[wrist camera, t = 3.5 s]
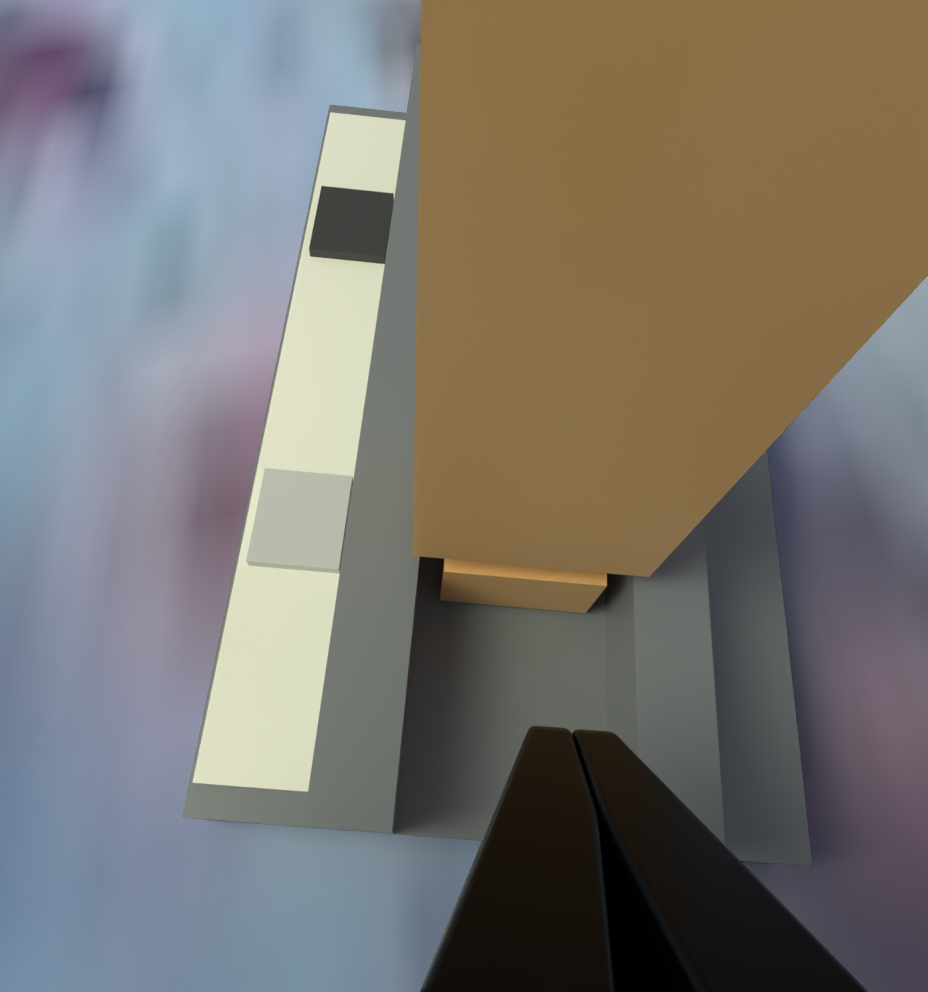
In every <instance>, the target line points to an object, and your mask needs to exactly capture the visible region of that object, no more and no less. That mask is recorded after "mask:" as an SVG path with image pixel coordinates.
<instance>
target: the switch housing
mask: <svg viewBox="0 0 928 992" xmlns="http://www.w3.org/2000/svg"><path fill="white" fill-rule="evenodd" d="M420 49H421V44H417V46H416V53H415V60H414V67H413V73H412V80H411V87H410V94H409V101H408V108H407V113H402V112H393V111H384V110H374V109H365V108H356V107H347V106H337V105H330V107H329V111H328V116H327V121H326V126H325V131H324V136H323V140H322V145H321V150H320V155H319V160H318V165H317V169H316V174H315V179H314V184H313V189H312V194H311V198H310V203H309V208H308V213H307V218H306V222H305V227H304V232H303V237H302V242H301V247H300V251H299V256H298V261H297V266H296V271H295V276H294V280H293V285H292V290H291V295H290V300H289V305H288V309H287V314H286V319H285V324H284V329H283V333H282V338H281V343H280V348H279V353H278V358H277V362H276V367H275V372H274V377H273V382H272V387H271V391H270V396H269V401H268V406H267V411H266V416H265V420H264V425H263V430H262V435H261V440H260V444H259V449H258V454H257V459H256V464H255V469H254V473H253V478H252V483H251V488H250V493H249V498H248V502H247V507H246V512H245V517H244V522H243V527H242V531H241V536H240V541H239V546H238V551H237V555H236V560H235V565H234V570H233V575H232V580H231V584H230V589H229V594H228V599H227V604H226V609H225V613H224V618H223V623H222V628H221V633H220V638H219V642H218V647H217V652H216V657H215V662H214V666H213V671H212V676H211V681H210V686H209V691H208V695H207V700H206V705H205V710H204V715H203V720H202V724H201V729H200V734H199V739H198V744H197V749H196V753H195V758H194V763H193V768H192V773H191V777H190V782H189V787H188V792H187V797H186V802H185V806H184V811H183V816H182V817H186V818H196V819H208V820H220V821H233V822H246V823H259V824H272V825H285V826H298V827H311V828H324V829H337V830H350V831H363V832H375V833H388V834H401V835H414V836H427V837H440V838H453V839H466V840H479V841H482V840H483V838H484V835H485V833H486V831H487V828H488V826H489V823H490V821H491V818H492V816H493V814H494V811H495V809H496V806H497V804H498V801H499V799H500V797H501V794H502V792H503V789H504V787H505V784H506V782H507V780H508V777H509V775H510V772H511V770H512V767H513V765H514V763H515V760H516V758H517V755H518V753H519V751H520V748H521V746H522V743H523V741H524V738H525V736H526V734H527V731H528V729H529V728H530V727H532V726H536V725H537V726H549V727H561V728H566V729H568V730H569V731H571V733H573V732H574V731H575V730H577V729H585V730H598V731H609V732H612V733H614V734H616V735H617V736H618V737H619V738H620V739H621V740H622V741H623V742H624V743H625V744H626V745H627V746H628V747H629V748H630V749H631V750H632V751H633V752H634V753H635V754H636V755H637V756H638V757H639V758H640V759H641V760H642V761H643V762H644V763H645V764H646V765H647V766H648V767H649V768H650V769H651V770H652V771H653V772H654V773H655V774H656V775H657V776H658V777H659V778H660V779H661V781H662V782H663V783H664V784H665V785H666V786H667V787H668V788H669V789H670V790H671V791H672V792H673V793H674V794H675V795H676V796H677V797H678V798H679V799H680V800H681V801H682V802H683V803H684V804H685V805H686V806H687V807H688V808H689V809H690V810H691V811H692V812H693V813H694V814H695V815H696V816H697V817H698V818H699V819H700V820H701V821H702V822H703V823H704V824H705V825H706V826H707V828H708V829H709V830H710V831H711V832H712V833H713V834H714V835H715V836H716V837H717V838H718V839H719V840H720V841H721V842H722V843H723V844H724V845H725V846H726V847H727V848H728V849H729V850H730V851H731V852H732V853H733V854H734V855H735V856H736V857H737V858H738V859H739V860H740V861H750V862H763V863H777V864H791V865H806V866H812V858H811V848H810V839H809V830H808V821H807V812H806V802H805V793H804V784H803V775H802V766H801V756H800V747H799V738H798V729H797V720H796V711H795V701H794V692H793V683H792V674H791V665H790V655H789V646H788V637H787V628H786V619H785V609H784V600H783V591H782V582H781V573H780V564H779V554H778V545H777V536H776V527H775V518H774V508H773V499H772V490H771V481H770V472H769V462H768V453H767V450H766V451H765V452H764V453H763V454H762V455H761V456H760V457H759V459H758V460H757V461H756V462H755V463H754V464H753V465H752V466H751V467H750V468H749V469H748V470H747V472H746V473H745V474H744V475H743V476H742V477H741V478H740V479H739V480H738V481H737V482H736V483H735V485H734V486H733V487H732V488H731V489H730V490H729V491H728V492H727V493H726V494H725V495H724V496H723V498H722V499H721V500H720V501H719V502H718V503H717V504H716V505H715V506H714V507H713V508H712V509H711V511H710V512H709V513H708V514H707V515H706V516H705V517H704V518H703V519H702V520H701V521H700V522H699V523H698V525H697V526H696V527H695V528H694V529H693V530H692V531H691V532H690V533H689V534H688V535H687V536H686V538H685V539H684V540H683V541H682V542H681V543H680V544H679V545H678V546H677V547H676V548H675V549H674V551H673V552H672V553H671V554H670V555H669V556H668V557H667V558H666V559H665V560H664V561H663V562H662V564H661V565H660V566H659V567H658V568H657V569H656V570H655V571H654V572H653V573H652V574H651V575H650V576H649V577H643V576H632V575H621V574H610V573H607V587H606V588H605V589H604V590H603V592H602V593H601V594H600V596H599V597H598V598H597V599H596V601H595V602H594V603H593V604H592V606H591V607H590V608H589V609H588V611H587V612H586V613H576V612H565V611H554V610H542V609H531V608H519V607H508V606H497V605H485V604H474V603H462V602H451V601H440V593H441V581H442V570H443V559H442V558H431V557H420V556H412V543H413V482H414V420H415V358H416V296H417V234H418V172H419V111H420Z"/></svg>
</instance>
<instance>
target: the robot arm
mask: <svg viewBox="0 0 928 992" xmlns="http://www.w3.org/2000/svg"><path fill="white" fill-rule="evenodd" d="M420 992H868V991H867V990H866V989H865V988H864V987H863V986H862V985H861V984H860V983H859V982H858V981H857V980H856V979H855V978H854V977H853V976H852V975H851V974H850V973H849V972H848V971H847V969H846V968H845V967H844V966H843V965H842V964H841V963H840V962H839V961H838V960H837V959H836V958H835V957H834V956H833V955H832V954H831V953H830V952H829V951H828V950H827V949H826V948H825V947H824V946H823V945H822V944H821V943H820V942H819V941H818V940H817V939H816V938H815V937H814V936H813V935H812V934H811V933H810V932H809V931H808V930H807V929H806V928H805V927H804V926H803V925H802V924H801V922H800V921H799V920H798V919H797V918H796V917H795V916H794V915H793V914H792V913H791V912H790V911H789V910H788V909H787V908H786V907H785V906H784V905H783V904H782V903H781V902H780V901H779V900H778V899H777V898H776V897H775V896H774V895H773V894H772V893H771V892H770V891H769V890H768V889H767V888H766V887H765V886H764V885H763V884H762V883H761V882H760V881H759V880H758V879H757V878H756V877H755V876H754V874H753V873H752V872H751V871H750V870H749V869H748V868H747V867H746V866H745V865H744V864H743V863H742V862H741V861H740V860H739V859H738V858H737V857H736V856H735V855H734V854H733V853H732V852H731V851H730V850H729V849H728V848H727V847H726V846H725V845H724V844H723V843H722V842H721V841H720V840H719V839H718V838H717V837H716V836H715V835H714V834H713V833H712V832H711V831H710V830H709V829H708V828H707V826H706V825H705V824H704V823H703V822H702V821H701V820H700V819H699V818H698V817H697V816H696V815H695V814H694V813H693V812H692V811H691V810H690V809H689V808H688V807H687V806H686V805H685V804H684V803H683V802H682V801H681V800H680V799H679V798H678V797H677V796H676V795H675V794H674V793H673V792H672V791H671V790H670V789H669V788H668V787H667V786H666V785H665V784H664V783H663V782H662V781H661V779H660V778H659V777H658V776H657V775H656V774H655V773H654V772H653V771H652V770H651V769H650V768H649V767H648V766H647V765H646V764H645V763H644V762H643V761H642V760H641V759H640V758H639V757H638V756H637V755H636V754H635V753H634V752H633V751H632V750H631V749H630V748H629V747H628V746H627V745H626V744H625V743H624V742H623V741H622V740H621V739H620V738H619V737H618V736H617V735H616V734H614V733H612V732H609V731H598V730H585V729H577V730H575V731H574V732H573V733H571V731H569V730H568V729H566V728H561V727H549V726H537V725H536V726H532V727H530V728H529V729H528V731H527V734H526V736H525V738H524V741H523V743H522V746H521V748H520V751H519V753H518V755H517V758H516V760H515V763H514V765H513V767H512V770H511V772H510V775H509V777H508V780H507V782H506V784H505V787H504V789H503V792H502V794H501V797H500V799H499V801H498V804H497V806H496V809H495V811H494V814H493V816H492V818H491V821H490V823H489V826H488V828H487V831H486V833H485V835H484V838H483V840H482V843H481V845H480V848H479V850H478V852H477V855H476V857H475V860H474V862H473V865H472V867H471V869H470V872H469V874H468V877H467V879H466V882H465V884H464V886H463V889H462V891H461V894H460V896H459V899H458V901H457V903H456V906H455V908H454V911H453V913H452V915H451V918H450V920H449V923H448V925H447V928H446V930H445V932H444V935H443V937H442V940H441V942H440V945H439V947H438V949H437V952H436V954H435V957H434V959H433V962H432V964H431V966H430V969H429V971H428V974H427V976H426V979H425V981H424V983H423V986H422V988H421V991H420Z"/></svg>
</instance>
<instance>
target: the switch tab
mask: <svg viewBox="0 0 928 992" xmlns="http://www.w3.org/2000/svg"><path fill="white" fill-rule="evenodd" d="M927 276H928V0H421V49H420V111H419V172H418V234H417V296H416V358H415V420H414V482H413V543H412V556H420V557H431V558H442V559H443V570H442V581H441V593H440V601H451V602H462V603H474V604H485V605H497V606H508V607H519V608H531V609H542V610H554V611H565V612H576V613H586V612H587V611H588V609H589V608H590V607H591V606H592V604H593V603H594V602H595V601H596V599H597V598H598V597H599V596H600V594H601V593H602V592H603V590H604V589H605V588H606V587H607V573H610V574H621V575H632V576H643V577H649V576H650V575H651V574H652V573H653V572H654V571H655V570H656V569H657V568H658V567H659V566H660V565H661V564H662V562H663V561H664V560H665V559H666V558H667V557H668V556H669V555H670V554H671V553H672V552H673V551H674V549H675V548H676V547H677V546H678V545H679V544H680V543H681V542H682V541H683V540H684V539H685V538H686V536H687V535H688V534H689V533H690V532H691V531H692V530H693V529H694V528H695V527H696V526H697V525H698V523H699V522H700V521H701V520H702V519H703V518H704V517H705V516H706V515H707V514H708V513H709V512H710V511H711V509H712V508H713V507H714V506H715V505H716V504H717V503H718V502H719V501H720V500H721V499H722V498H723V496H724V495H725V494H726V493H727V492H728V491H729V490H730V489H731V488H732V487H733V486H734V485H735V483H736V482H737V481H738V480H739V479H740V478H741V477H742V476H743V475H744V474H745V473H746V472H747V470H748V469H749V468H750V467H751V466H752V465H753V464H754V463H755V462H756V461H757V460H758V459H759V457H760V456H761V455H762V454H763V453H764V452H765V451H766V450H767V449H768V448H769V447H770V446H771V445H772V443H773V442H774V441H775V440H776V439H777V438H778V437H779V436H780V435H781V434H782V433H783V432H784V430H785V429H786V428H787V427H788V426H789V425H790V424H791V423H792V422H793V421H794V420H795V419H796V417H797V416H798V415H799V414H800V413H801V412H802V411H803V410H804V409H805V408H806V407H807V406H808V404H809V403H810V402H811V401H812V400H813V399H814V398H815V397H816V396H817V395H818V394H819V393H820V392H821V390H822V389H823V388H824V387H825V386H826V385H827V384H828V383H829V382H830V381H831V380H832V379H833V377H834V376H835V375H836V374H837V373H838V372H839V371H840V370H841V369H842V368H843V367H844V366H845V364H846V363H847V362H848V361H849V360H850V359H851V358H852V357H853V356H854V355H855V354H856V353H857V351H858V350H859V349H860V348H861V347H862V346H863V345H864V344H865V343H866V342H867V341H868V340H869V338H870V337H871V336H872V335H873V334H874V333H875V332H876V331H877V330H878V329H879V328H880V327H881V326H882V324H883V323H884V322H885V321H886V320H887V319H888V318H889V317H890V316H891V315H892V314H893V313H894V311H895V310H896V309H897V308H898V307H899V306H900V305H901V304H902V303H903V302H904V301H905V300H906V298H907V297H908V296H909V295H910V294H911V293H912V292H913V291H914V290H915V289H916V288H917V287H918V285H919V284H920V283H921V282H922V281H923V280H924V279H925V278H926V277H927Z"/></svg>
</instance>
